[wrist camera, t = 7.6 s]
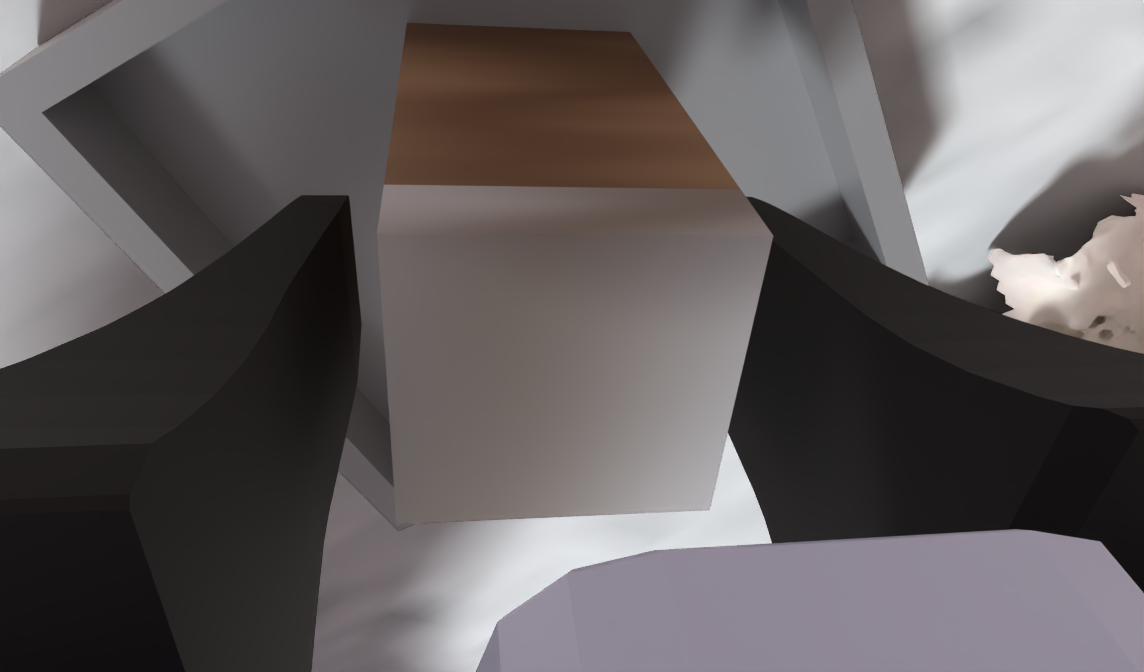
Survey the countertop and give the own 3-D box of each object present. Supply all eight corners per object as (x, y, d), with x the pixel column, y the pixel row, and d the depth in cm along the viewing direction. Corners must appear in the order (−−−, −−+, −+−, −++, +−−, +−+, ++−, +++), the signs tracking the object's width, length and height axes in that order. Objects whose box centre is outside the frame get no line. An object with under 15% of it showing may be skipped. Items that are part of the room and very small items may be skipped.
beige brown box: (630, 31, 13) (773, 236, 7) (609, 229, 15) (709, 510, 9) (406, 22, 13) (377, 233, 7) (414, 227, 15) (396, 524, 9)
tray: (877, 231, 17) (930, 288, 15) (402, 456, 18) (398, 531, 17) (698, -363, 11) (747, -386, 9) (35, 47, 13) (-31, 95, 11)
